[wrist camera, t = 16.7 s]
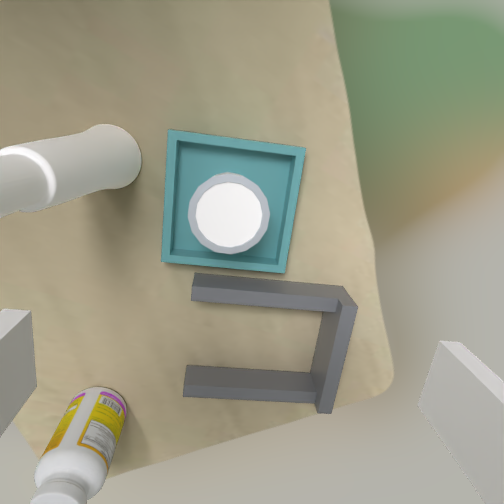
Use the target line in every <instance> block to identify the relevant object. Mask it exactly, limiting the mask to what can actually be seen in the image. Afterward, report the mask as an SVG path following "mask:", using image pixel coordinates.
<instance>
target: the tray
mask: <svg viewBox="0 0 504 504" xmlns="http://www.w3.org/2000/svg"><path fill="white" fill-rule="evenodd" d="M305 151H306V148H304V147H299V146H291V145H284V144H276V143H269V142H261V141H254V140H247V139H239V138H232V137H224V136H217V135H209V134H202V133H195V132H187V131H180V130H172V129H170V130H168V140H167V159H166V178H165V197H164V216H163V235H162V254H161V262H168V263H179V264H190V265H201V266H211V267H222V268H233V269H243V270H254V271H265V272H276V273H285V268H286V262H287V256H288V250H289V245H290V239H291V233H292V227H293V221H294V215H295V210H296V204H297V198H298V192H299V186H300V180H301V175H302V169H303V163H304V157H305ZM224 172H231V173H237V174H240V175H242V176H244V177H246V178H247V179H249V180H250V181H252V182H253V183H255V184H256V185H258V186H259V188H260V189H261V191H262V192H263V194H264V195H265V197H266V198H267V201H268V206H269V211H270V217H269V222H268V227H267V230H266V232H265V233H264V235H263V236H262V238H261V239H260V241H259V242H258V243H257V244H255V245H254V246H252V247H251V248H249V249H248V250H246V251H243V252H239V253H234V254H225V253H218V252H214V251H212V250H211V249H209V248H207V247H205V246H204V245H202V244H201V243H200V242H199V240H198V239H197V238H196V237H195V235H194V234H193V233H192V231H191V227H190V223H189V220H188V210H189V202H190V200H191V198H192V196H193V195H194V193H195V191H196V190H197V188H198V187H199V186H200V185H201V184H203V183H204V182H206V181H207V180H208V179H210V178H211V177H213V176H214V175H216V174H220V173H224Z"/></svg>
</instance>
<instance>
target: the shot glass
mask: <svg viewBox="0 0 504 504" xmlns="http://www.w3.org/2000/svg"><path fill="white" fill-rule="evenodd" d="M269 217H270V211H269V206H268V201H267V198H266V197H265V195H264V194H263V192H262V191H261V189H260V188H259V186H258V185H256V184H255V183H253V182H252V181H250V180H249V179H247V178H246V177H244V176H242V175H240V174H237V173H231V172H224V173H220V174H216V175H214V176H213V177H211V178H210V179H208V180H207V181H206V182H204V183H203V184H201V185H200V186H199V187H198V188H197V190H196V191H195V193H194V195H193V196H192V198H191V200H190V202H189V210H188V220H189V223H190V227H191V231H192V233H193V234H194V235H195V237H196V238H197V239H198V240H199V242H200V243H201V244H202V245H204V246H205V247H207V248H209V249H211V250H212V251H214V252H218V253H225V254H234V253H239V252H243V251H246V250H248V249H249V248H251V247H252V246H254V245H255V244H257V243H258V242H259V241H260V239H261V238H262V236H263V235H264V233H265V232H266V230H267V227H268V222H269Z"/></svg>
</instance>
